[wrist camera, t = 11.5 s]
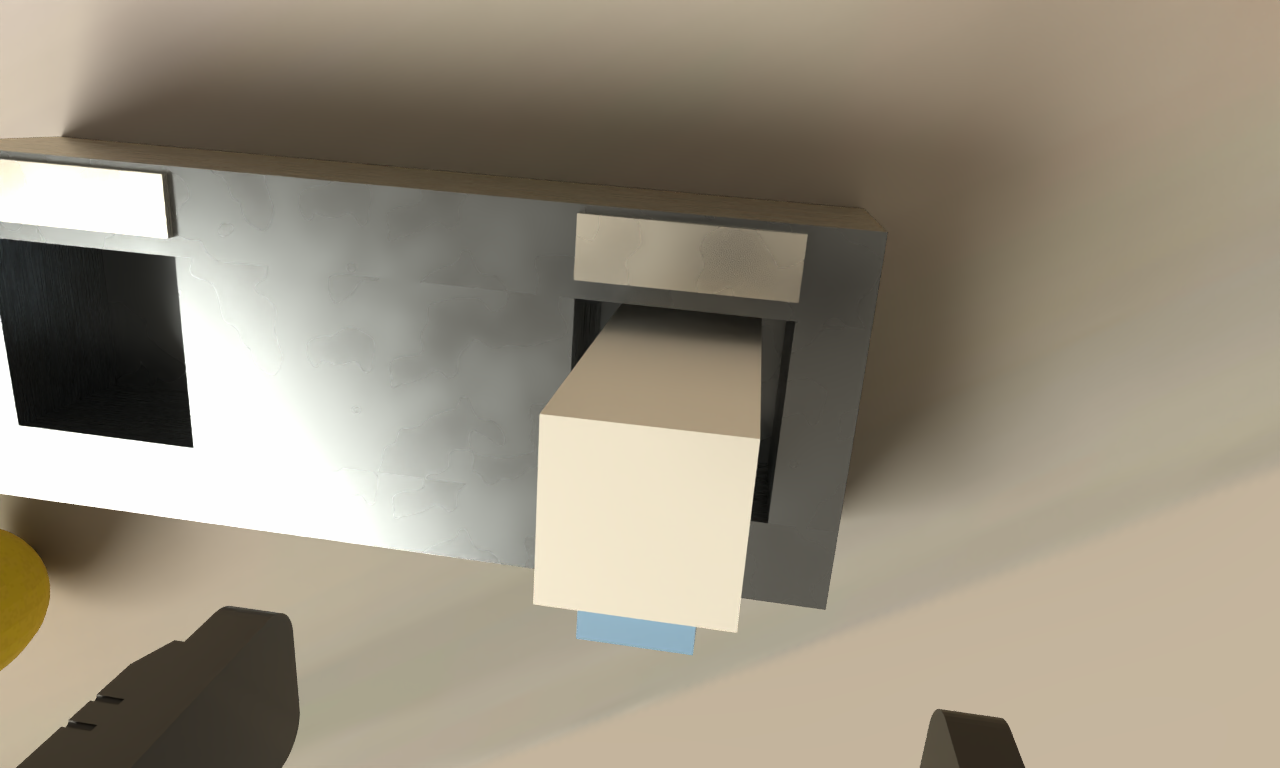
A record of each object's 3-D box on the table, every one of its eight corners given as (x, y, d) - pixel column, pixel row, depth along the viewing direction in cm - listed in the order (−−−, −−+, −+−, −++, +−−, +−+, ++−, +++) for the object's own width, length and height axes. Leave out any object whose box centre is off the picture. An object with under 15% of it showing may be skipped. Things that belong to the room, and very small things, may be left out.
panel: (59, 136, 27) (-98, 142, 22) (863, 208, 24) (889, 233, 19) (99, 430, 30) (-31, 493, 25) (814, 523, 27) (825, 614, 22)
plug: (624, 299, 25) (539, 413, 16) (761, 312, 24) (760, 439, 15) (614, 456, 26) (531, 647, 17) (743, 471, 26) (731, 676, 17)
